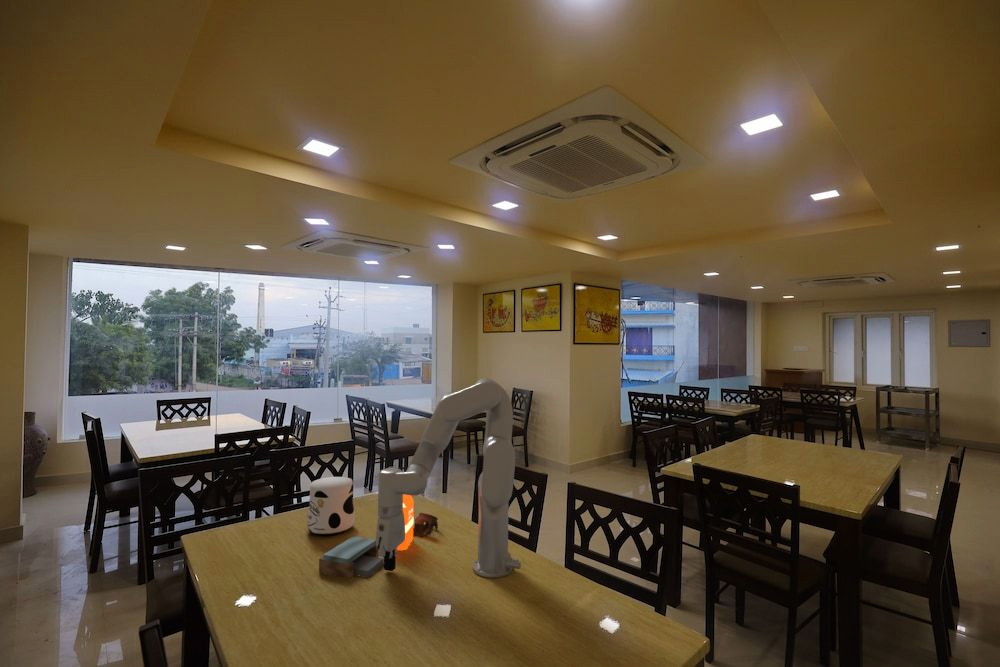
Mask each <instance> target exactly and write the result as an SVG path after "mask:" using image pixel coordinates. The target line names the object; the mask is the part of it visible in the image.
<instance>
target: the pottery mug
mask: <svg viewBox="0 0 1000 667" xmlns="http://www.w3.org/2000/svg"><path fill="white" fill-rule="evenodd" d="M438 520H439V518H438V517H437V516H435V515H432V514H429V513H426V512H425V513H424V512H419V513H418V515H417V517H415V519H414V524H413V536H416V537H419V536H423V537H424V534H425V535H426V536H429V535H431V534H432V532H433V529H434V530H435V529H436V530H435V531H438V529H439V526H438V525H439V524H438ZM424 523H425V524H424Z"/></svg>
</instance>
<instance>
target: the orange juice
mask: <svg viewBox="0 0 1000 667" xmlns="http://www.w3.org/2000/svg"><path fill="white" fill-rule="evenodd" d="M414 503H415V500H414V498H413V497H412V496H411V495H404V494H403V513H404V520H405V540H404V542H403V543H402V544H400V545H399V546H398V547H397V551H403V550H406V549H407V550H408V548H409V547H410V545H411V544H412V543H411V542H413V541H414V535H413V528H414V522H415V519H414V516H415V515H414V511H415V510H414V509H415V508H414V506H415V505H414ZM412 540H413V541H412ZM410 543H411V544H410ZM408 546H409V547H408ZM407 550H406V551H407Z"/></svg>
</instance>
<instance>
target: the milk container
mask: <svg viewBox="0 0 1000 667" xmlns="http://www.w3.org/2000/svg"><path fill="white" fill-rule="evenodd" d="M353 484H354V483H353V479H352V478H350V477H347V476H346V477H345V476H330V477H329V476H328V477H323V478H318V479H316V480H313V481H312V482H311V483H310V487H309V507H308V511H307V516H306V528H307V530H308V531H309V532H310V533H312V534H314V535H318V536H319V535H320V536H332V535H337V534H341V533H345V532H346V531H348V530H350V529H351V528H352V527H353V526H354V524H355V520H356V511H355V506H354V485H353Z"/></svg>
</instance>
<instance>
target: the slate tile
mask: <svg viewBox="0 0 1000 667" xmlns="http://www.w3.org/2000/svg"><path fill="white" fill-rule="evenodd" d="M352 562H354V576H357V575H360V576H359V577H363V576H365V577H364V578H369V577H370V576H372V574H374V573H375V572H376V571H377V570H379V569H380V568H381V567H382V566H384V557H379V558H378V557H372V556H366V555H361V556H359V557H358V558H356V559H355V560H353V561H352ZM379 567H380V568H379ZM378 568H379V569H378ZM374 571H375V572H374ZM373 572H374V573H373ZM368 576H369V577H368Z"/></svg>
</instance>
